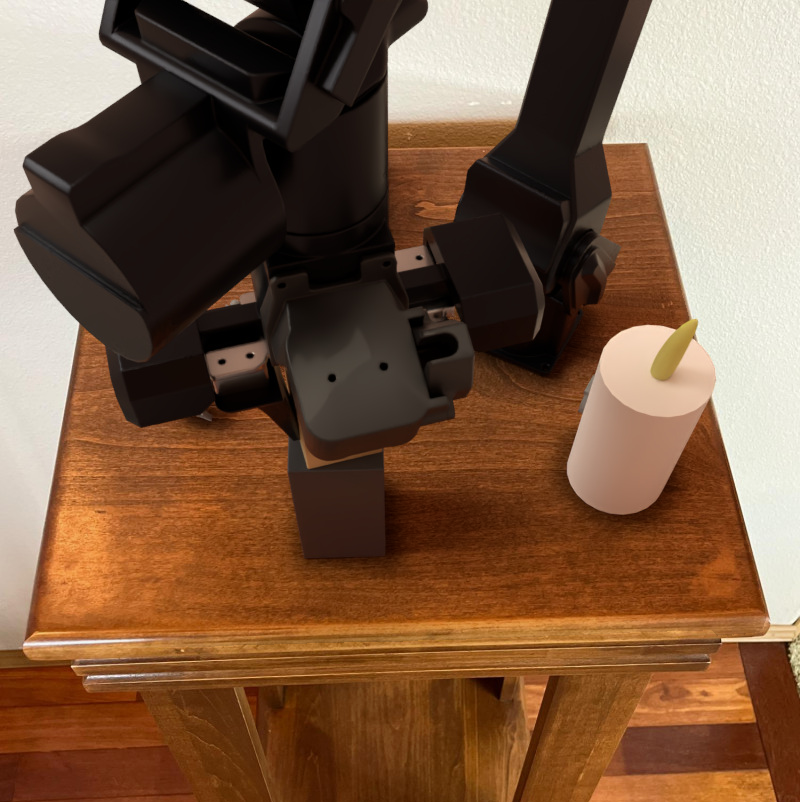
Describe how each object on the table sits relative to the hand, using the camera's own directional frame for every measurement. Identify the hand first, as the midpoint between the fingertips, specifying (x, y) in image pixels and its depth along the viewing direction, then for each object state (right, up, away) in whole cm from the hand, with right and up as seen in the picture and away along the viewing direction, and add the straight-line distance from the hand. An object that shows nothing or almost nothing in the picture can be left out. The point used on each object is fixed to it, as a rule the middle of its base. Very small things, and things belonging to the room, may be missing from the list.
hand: (335, 424), depth 47 cm
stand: (0, -5, +9) cm, 10 cm away
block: (0, 0, 0) cm, 0 cm away
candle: (+17, -2, +11) cm, 21 cm away
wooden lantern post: (-9, +5, +15) cm, 18 cm away
